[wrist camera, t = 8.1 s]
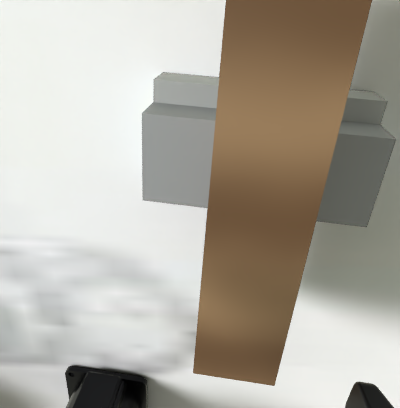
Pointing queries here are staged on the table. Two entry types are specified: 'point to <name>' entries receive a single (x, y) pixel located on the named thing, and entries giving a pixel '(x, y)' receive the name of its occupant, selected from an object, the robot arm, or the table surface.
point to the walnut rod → (269, 172)
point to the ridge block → (204, 137)
